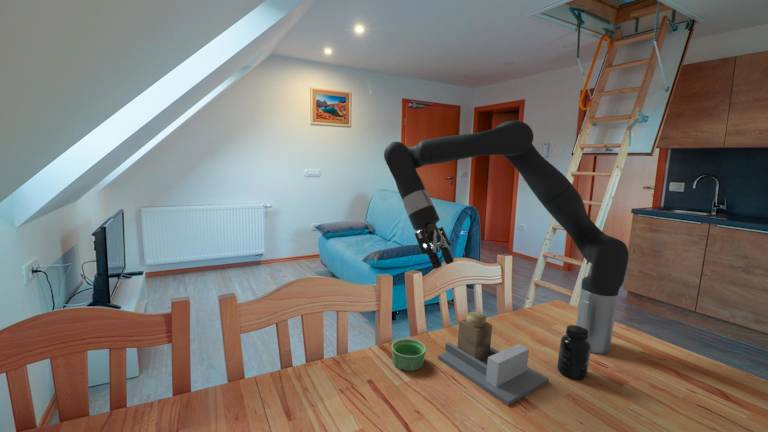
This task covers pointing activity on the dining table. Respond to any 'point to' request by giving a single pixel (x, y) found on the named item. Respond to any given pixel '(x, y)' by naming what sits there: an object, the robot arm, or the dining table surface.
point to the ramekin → (408, 354)
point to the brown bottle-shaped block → (475, 335)
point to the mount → (497, 371)
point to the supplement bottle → (574, 353)
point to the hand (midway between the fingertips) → (444, 265)
